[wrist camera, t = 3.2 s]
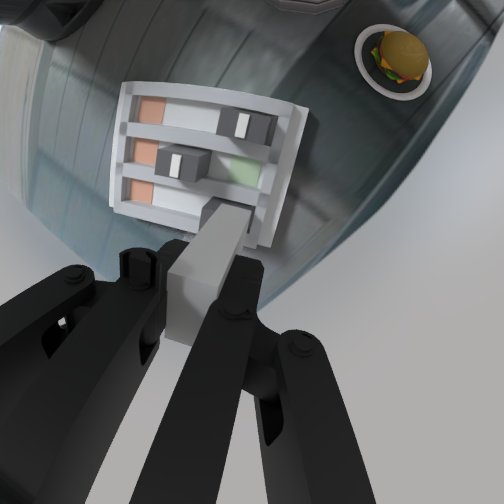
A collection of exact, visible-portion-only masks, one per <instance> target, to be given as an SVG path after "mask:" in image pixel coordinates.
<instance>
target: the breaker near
mask: <svg viewBox="0 0 504 504" xmlns="http://www.w3.org/2000/svg"><path fill="white" fill-rule="evenodd" d="M272 121H273V118H272V117H268V116H264V115H259V114H255V113H250V112H245V111H240V110H235V109H230V108H224V107H221V111H220V116H219V120H218V125H217V130H216V135H219V136H224V137H229V138H234V139H239V140H243V141H248V142H252V143H257V144H261V145H264V144H265V143H266V142H267V141H268V137H269V133H270V129H271V125H272Z"/></svg>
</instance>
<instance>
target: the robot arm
mask: <svg viewBox="0 0 504 504" xmlns="http://www.w3.org/2000/svg"><path fill="white" fill-rule="evenodd" d="M102 1H103V0H0V25H15V26H18V27H19V28H21V29H23V30H24V31H26V32H27V33H29V34H31V35H32V36H34V37H35V38H37V39H40V40H48V41H56V40H60V39H62V38H65V37H67V36H68V35H70V34H71V33H73V32H74V31H76V30H77V29H78V28H79V27H80V26H82V25H83V24H84V23H85V22H86V21H87V20H88V19H89V18H90V17H91V15H92V14H93V13H94V12H95V11H96V9H97V8H98V7H99V6H100V4H101V3H102ZM251 212H252V211H250V210H246V209H243V208H239V207H235V206H231V205H227V204H223V203H222V204H221V205H220V206H219V207H218V209H217V210H216V211H215V212H214V214H213V215H212V216H211V217H210V218H209V220H208V221H207V222H206V223H205V225H204V226H203V227H202V228H201V229H200V231H199V232H198V233H197V234H196V236H195V237H194V238H193V240H192V241H191V242H190V243H189V242H186V241H182V240H178V239H173V240H171V241H169V242H166V243H165V244H164V245H163V246H162V247H161V248H160V250H158V251H157V252H155V251H153V250H150V249H147V248H130V249H126V250H124V251H122V252H121V253H119V258H120V278H119V279H118V280H117V281H116V282H107V281H98V280H95V277H94V272H93V271H92V269H91V268H89V267H87V266H85V265H70V266H67V267H65V268H62V269H61V270H59V271H57V272H55V273H54V274H52V275H50V276H48V277H47V278H45V279H43V280H41V281H40V282H38V283H37V284H35V285H33V286H31V287H30V288H28V289H26V290H25V291H23V292H22V293H20V294H18V295H17V296H15V297H14V298H12V299H10V300H9V301H7V302H6V303H4V304H3V305H1V306H0V504H85V501H86V499H87V497H88V494H89V492H90V490H91V487H92V485H93V483H94V480H95V478H96V476H97V474H98V471H99V469H100V467H101V465H102V462H103V460H104V458H105V456H106V453H107V452H108V449H109V447H110V445H111V443H112V441H113V439H114V437H115V435H116V432H117V430H118V428H119V426H120V424H121V422H122V420H123V418H124V416H125V414H126V412H127V409H128V408H129V406H130V404H131V401H132V400H133V398H134V396H135V394H136V392H137V390H138V388H139V386H140V384H141V382H142V380H143V378H144V376H145V374H146V372H147V370H148V368H149V366H150V364H151V362H152V360H153V358H154V356H155V354H156V353H157V351H158V349H159V344H160V335H161V333H162V332H163V330H164V328H165V338H168V339H171V340H174V341H177V342H180V343H183V344H186V345H189V346H192V348H191V351H190V353H189V355H188V358H187V360H186V362H185V365H184V367H183V370H182V372H181V375H180V377H179V379H178V382H177V384H176V386H175V389H174V391H173V394H172V396H171V399H170V401H169V403H168V406H167V408H166V411H165V413H164V416H163V418H162V421H161V423H160V426H159V428H158V431H157V433H156V435H155V438H154V441H153V443H152V445H151V448H150V451H149V453H148V456H147V458H146V461H145V463H144V466H143V469H142V471H141V474H140V476H139V479H138V481H137V484H136V486H135V489H134V492H133V494H132V497H131V500H130V502H129V504H216V500H217V496H218V492H219V488H220V483H221V479H222V475H223V471H224V466H225V462H226V457H227V453H228V449H229V444H230V440H231V435H232V430H233V426H234V422H235V417H236V413H237V408H238V403H239V398H240V394H241V390H242V389H243V390H245V391H247V392H248V393H250V394H252V395H254V402H255V410H256V419H257V426H258V434H259V442H260V449H261V457H262V464H263V471H264V478H265V486H266V493H267V499H268V504H376V501H375V498H374V495H373V491H372V488H371V484H370V481H369V478H368V475H367V471H366V468H365V465H364V462H363V459H362V455H361V452H360V449H359V446H358V443H357V440H356V437H355V434H354V431H353V428H352V425H351V422H350V419H349V416H348V413H347V410H346V407H345V404H344V402H343V399H342V396H341V393H340V390H339V387H338V385H337V382H336V379H335V376H334V374H333V371H332V368H331V365H330V362H329V360H328V357H327V354H326V352H325V349H324V347H323V345H322V343H321V342H320V340H318V339H317V338H316V337H315V336H314V335H312V334H310V333H308V332H306V331H302V330H297V329H296V330H288V331H286V332H284V333H282V334H281V335H280V334H278V333H276V332H274V331H272V330H270V329H269V328H267V327H265V325H264V324H262V323H261V321H260V320H259V318H258V316H257V313H256V309H257V304H258V299H259V294H260V289H261V283H262V278H263V273H264V267H263V265H262V263H261V261H259V260H256V259H252V258H248V257H244V256H241V254H242V249H243V245H244V241H245V237H246V233H247V229H248V224H249V220H250V216H251ZM63 317H64V318H65V322H66V324H64V325H61V326H60V325H59V324H58V321H59V320H60V319H62V318H63Z"/></svg>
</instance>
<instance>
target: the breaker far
mask: <svg viewBox="0 0 504 504" xmlns="http://www.w3.org/2000/svg"><path fill="white" fill-rule="evenodd" d="M222 203H223V204H227V205H231V206H235V207H239V208H243V209H246V210H251V206H252V205H248V204H244V203H240V202H236V201H232V200H228V199H224V198H220V197H216V196H213V197H212V198H211V199H210V200H209V201H208V202H207V203H206V204H205V205H204V206H203V207H202V210H201V216H200V223H199V229H198V232H199V231H200V229H201V228H202V227H203V226H204V225H205V223H206V222H207V221H208V220H209V218H210V217H211V216H212V215H213V214H214V212H215V211H216V210H217V209H218V207H219V206H220V205H221V204H222Z"/></svg>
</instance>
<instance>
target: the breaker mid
mask: <svg viewBox="0 0 504 504" xmlns="http://www.w3.org/2000/svg"><path fill="white" fill-rule="evenodd" d="M211 154H212V151H209V150H204V149H198V148H193V147H188V146H182V145H176V144H174V145H170V146H167V147H163V148H159V149H157V157H156V164H155V172H154V175H159V176H164V177H168V178H173V179H178V180H183V181H187V182H192V183H196V182H197V181H199V180H200V179H202V178H203V177H204V176H206V175H207V174H208V170H209V165H210V160H211Z"/></svg>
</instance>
